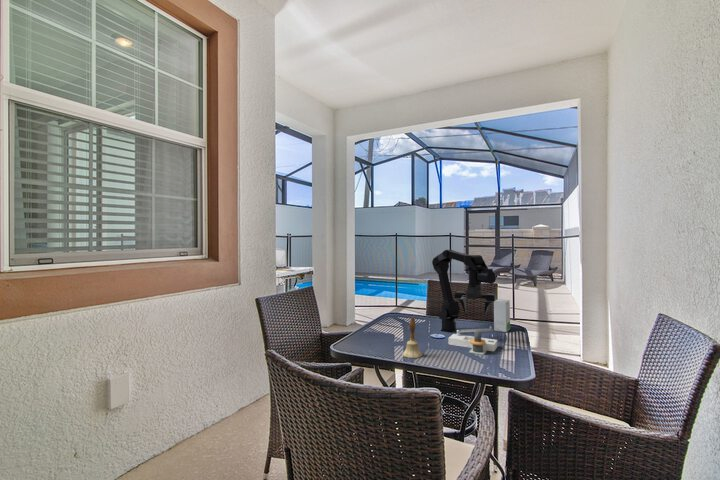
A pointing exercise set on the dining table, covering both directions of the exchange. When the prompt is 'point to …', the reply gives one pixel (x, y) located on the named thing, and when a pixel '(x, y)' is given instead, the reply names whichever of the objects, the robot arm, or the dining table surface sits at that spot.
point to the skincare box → (502, 315)
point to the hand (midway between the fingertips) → (475, 313)
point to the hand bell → (412, 343)
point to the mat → (477, 352)
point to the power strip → (465, 342)
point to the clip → (475, 330)
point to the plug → (477, 342)
